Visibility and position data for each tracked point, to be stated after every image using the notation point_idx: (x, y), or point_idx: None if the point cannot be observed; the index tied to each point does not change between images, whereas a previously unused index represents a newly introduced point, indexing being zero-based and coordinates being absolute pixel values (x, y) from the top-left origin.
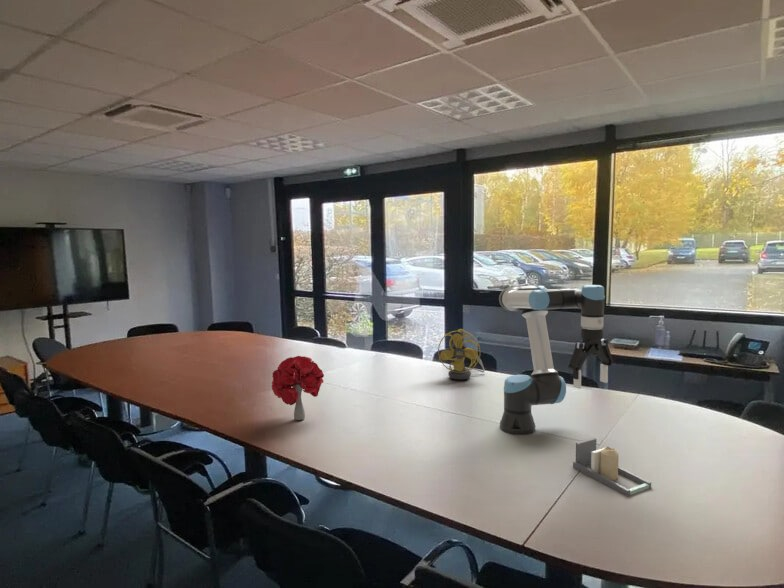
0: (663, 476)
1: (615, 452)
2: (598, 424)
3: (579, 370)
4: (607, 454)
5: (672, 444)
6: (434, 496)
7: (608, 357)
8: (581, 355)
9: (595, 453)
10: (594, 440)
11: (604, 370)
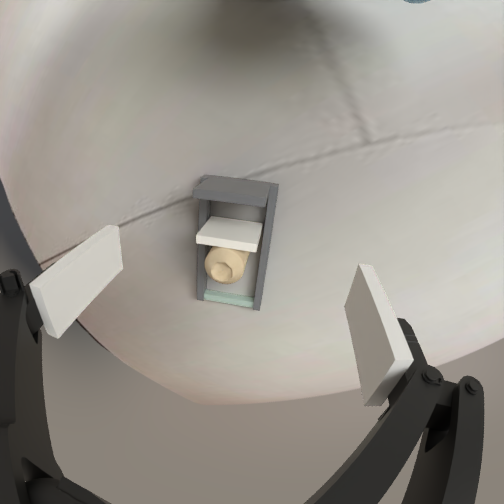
0: (321, 299)
1: (225, 282)
2: (464, 92)
3: (49, 328)
4: (207, 271)
5: (466, 251)
6: (5, 144)
7: (422, 457)
8: (2, 417)
9: (200, 242)
10: (256, 205)
11: (365, 355)
